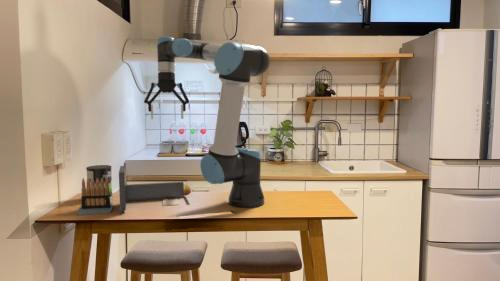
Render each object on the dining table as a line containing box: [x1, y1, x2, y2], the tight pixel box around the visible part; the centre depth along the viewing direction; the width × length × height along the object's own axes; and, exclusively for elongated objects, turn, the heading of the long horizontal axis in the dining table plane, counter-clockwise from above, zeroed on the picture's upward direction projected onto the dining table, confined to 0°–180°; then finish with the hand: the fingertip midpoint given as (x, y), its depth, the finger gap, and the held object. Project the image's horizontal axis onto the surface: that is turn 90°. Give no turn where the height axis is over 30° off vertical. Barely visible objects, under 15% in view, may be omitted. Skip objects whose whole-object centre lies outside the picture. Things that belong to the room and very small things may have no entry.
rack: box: [118, 165, 190, 215], centre depth 157 cm, size 26×16×16 cm, turn 106°
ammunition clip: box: [80, 177, 111, 209], centre depth 153 cm, size 11×2×12 cm, turn 98°
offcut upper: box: [162, 198, 180, 207], centre depth 159 cm, size 6×10×1 cm, turn 13°
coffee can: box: [86, 164, 113, 200], centre depth 171 cm, size 10×10×14 cm
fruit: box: [183, 182, 192, 196], centre depth 175 cm, size 11×10×8 cm
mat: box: [76, 202, 114, 216], centre depth 154 cm, size 12×14×1 cm
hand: (167, 118), depth 179 cm, fingers open, 13 cm apart
